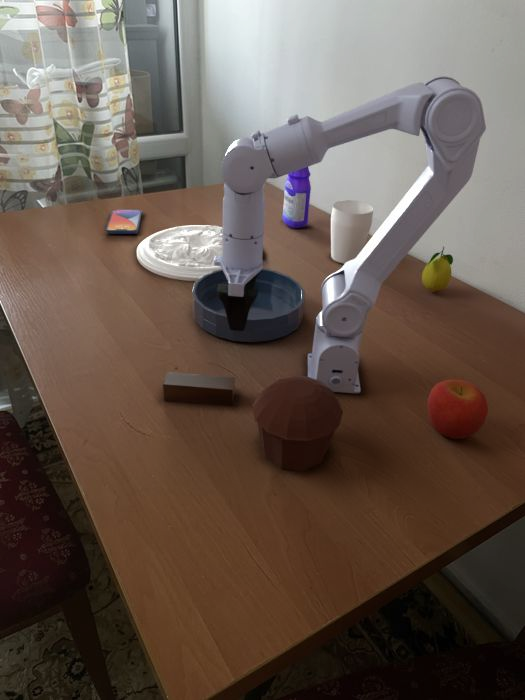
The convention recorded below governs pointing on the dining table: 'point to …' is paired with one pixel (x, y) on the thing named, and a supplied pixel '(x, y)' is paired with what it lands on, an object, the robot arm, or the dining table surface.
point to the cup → (349, 229)
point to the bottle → (297, 198)
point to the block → (199, 388)
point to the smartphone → (124, 222)
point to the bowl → (265, 313)
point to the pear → (437, 272)
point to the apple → (457, 408)
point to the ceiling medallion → (182, 251)
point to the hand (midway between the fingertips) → (239, 316)
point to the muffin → (296, 421)
